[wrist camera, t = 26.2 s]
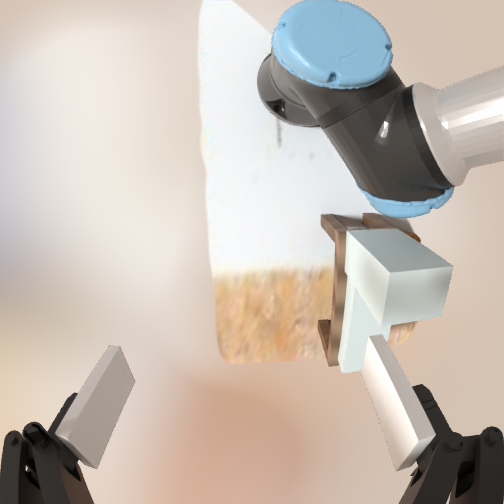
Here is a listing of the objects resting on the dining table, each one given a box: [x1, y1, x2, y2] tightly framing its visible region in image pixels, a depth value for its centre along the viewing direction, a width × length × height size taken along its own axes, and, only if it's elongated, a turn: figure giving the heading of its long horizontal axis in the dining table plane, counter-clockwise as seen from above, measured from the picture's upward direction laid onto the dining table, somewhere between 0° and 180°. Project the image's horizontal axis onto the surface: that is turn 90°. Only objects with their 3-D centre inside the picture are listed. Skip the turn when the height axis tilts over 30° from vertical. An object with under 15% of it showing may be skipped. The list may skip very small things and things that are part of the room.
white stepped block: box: [338, 229, 453, 373], centre depth 33 cm, size 23×8×14 cm, turn 4°
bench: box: [318, 213, 403, 366], centre depth 46 cm, size 24×10×12 cm, turn 4°
